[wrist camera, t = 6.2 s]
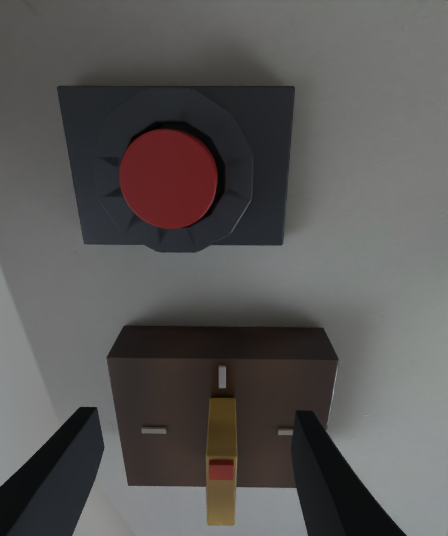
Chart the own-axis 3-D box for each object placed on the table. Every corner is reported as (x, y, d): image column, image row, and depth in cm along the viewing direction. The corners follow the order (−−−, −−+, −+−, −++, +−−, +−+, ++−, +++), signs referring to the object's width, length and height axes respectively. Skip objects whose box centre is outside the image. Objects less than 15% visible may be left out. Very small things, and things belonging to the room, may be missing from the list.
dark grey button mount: (92, 237, 17) (66, 257, 14) (69, 89, 14) (31, 78, 12) (279, 238, 17) (289, 259, 14) (290, 89, 14) (305, 78, 12)
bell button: (136, 218, 14) (124, 229, 12) (126, 129, 13) (112, 128, 11) (218, 219, 14) (216, 229, 12) (217, 129, 13) (216, 128, 11)
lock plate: (139, 444, 23) (126, 488, 20) (123, 325, 19) (104, 359, 16) (306, 445, 23) (317, 491, 20) (323, 327, 19) (340, 361, 16)
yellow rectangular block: (233, 460, 19) (234, 532, 16) (210, 460, 19) (206, 531, 16) (235, 396, 17) (237, 462, 14) (209, 396, 17) (205, 461, 14)
